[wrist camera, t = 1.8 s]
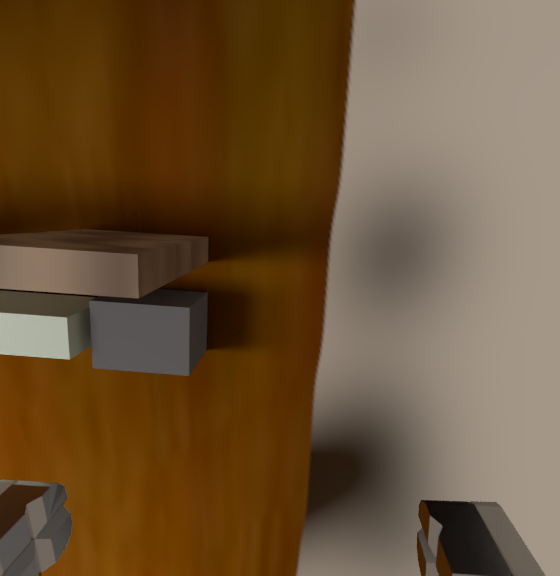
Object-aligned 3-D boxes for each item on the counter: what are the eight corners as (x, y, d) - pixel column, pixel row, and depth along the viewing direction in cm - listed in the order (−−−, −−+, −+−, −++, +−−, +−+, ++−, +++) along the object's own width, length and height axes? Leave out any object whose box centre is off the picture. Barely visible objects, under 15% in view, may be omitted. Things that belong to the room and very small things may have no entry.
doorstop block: (126, 343, 30) (92, 368, 25) (124, 286, 29) (89, 300, 24) (207, 349, 30) (189, 375, 25) (207, 292, 29) (189, 307, 24)
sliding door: (-49, 327, 30) (-124, 352, 25) (-54, 286, 29) (-134, 302, 24) (111, 339, 30) (70, 367, 24) (110, 298, 29) (66, 317, 23)
